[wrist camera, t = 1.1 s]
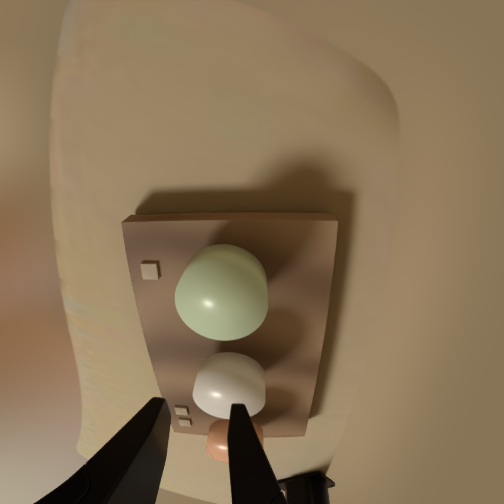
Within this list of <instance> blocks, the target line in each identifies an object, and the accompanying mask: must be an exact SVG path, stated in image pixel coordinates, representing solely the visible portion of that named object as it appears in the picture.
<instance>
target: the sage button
mask: <svg viewBox="0 0 504 504" xmlns="http://www.w3.org/2000/svg"><path fill="white" fill-rule="evenodd" d="M175 305H176V309H177V311H178V314H179V315H180V317H181V319H182V320H183V321H184V323H185V324H186V325H187V326H188V327H189V328H191V329H192V330H193V331H195V332H196V333H198V334H200V335H202V336H204V337H207V338H210V339H214V340H223V341H226V340H235V339H240V338H242V337H245V336H247V335H249V334H251V333H252V332H254V331H255V330H256V329H257V328H258V327H259V326H260V325H261V324H262V322H263V321H264V319H265V317H266V314H267V310H268V288H267V276H266V273H265V270H264V268H263V266H262V264H261V263H260V262H259V260H258V259H257V258H256V257H255V256H254V255H252V254H251V253H250V252H248V251H247V250H245V249H243V248H240V247H237V246H234V245H227V244H219V245H212V246H209V247H206V248H204V249H202V250H200V251H199V252H197V253H196V254H195V255H194V256H193V257H192V258H191V259H190V261H189V262H188V264H187V266H186V268H185V270H184V272H183V274H182V276H181V278H180V280H179V282H178V285H177V287H176V291H175Z"/></svg>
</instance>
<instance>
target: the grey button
mask: <svg viewBox="0 0 504 504" xmlns="http://www.w3.org/2000/svg"><path fill="white" fill-rule="evenodd" d="M193 399H194V401H195V403H196V404H197V406H198V407H199V408H200V409H202V410H203V411H204V412H206V413H208V414H210V415H212V416H215V417H218V418H223V419H229V417H230V409H231V404H233V403H243V404H245V406H246V408H247V410H248V413H249V415H250V416H253V415H255V414H256V413H258V412H259V411H260V410H261V409H262V408H263V407H264V404H265V372H264V370H263V368H262V366H261V365H260V364H259V363H258V362H257V361H255V360H254V359H252V358H250V357H248V356H246V355H243V354H239V353H233V352H223V353H217V354H214V355H211V356H209V357H207V358H206V359H204V360H203V361H202V362H201V364H200V365H199V368H198V372H197V376H196V380H195V385H194V389H193Z"/></svg>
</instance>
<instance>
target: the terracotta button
mask: <svg viewBox="0 0 504 504" xmlns="http://www.w3.org/2000/svg"><path fill="white" fill-rule="evenodd" d="M252 423H253V425H254V428H255V430H256V433H257V435H258V437H259V440H260V442H261V445H262V447H263V429H262V428H261V427H260V426H259V425H258V424H257V423H255V422H253V421H252ZM228 425H229V419H220V420H217V421H215V422H213V423H212V424H211V425H210V427H209V432H208V438H207V445H206V451H207V453H208V454H209V455H210V456H211V457H213V458H214V459H216V460H219V461H222V462H226V463H229V460H228V446H227V433H228Z"/></svg>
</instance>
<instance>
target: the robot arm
mask: <svg viewBox="0 0 504 504" xmlns="http://www.w3.org/2000/svg"><path fill="white" fill-rule="evenodd" d="M170 424H171V412H170V409H169V406H168V403H167V400H166V399H165V398H160V397H153V398H151V399H150V400H149V401H148V402H147V403H146V404H145V405H144V407H143V408H142V409H141V410H140V411H139V412H138V413H137V414H136V415H135V416H134V417H133V418H132V419H131V420H130V421H128V422H127V423H126V424H125V425H124V426H123V427H122V428H121V429H120V430H119V431H118V432H117V433H116V434H115V435H114V436H113V437H112V438H111V439H110V440H109V441H108V442H107V443H106V444H105V445H104V446H103V447H102V448H101V449H100V450H99V451H98V452H97V453H96V454H95V455H94V456H93V457H92V458H91V459H90V460H89V461H87V462H86V464H85V465H83V466H82V467H81V468H80V469H79V470H78V471H77V472H76V473H75V474H73V475H72V476H71V477H70V478H69V479H68V480H66V481H65V482H64V483H63V484H61V485H60V486H59V487H57V488H56V489H54V490H53V491H52V492H50V493H49V494H47V495H46V496H44V497H43V498H41V499H40V500H39V501H37V502H35V503H34V504H155V502H156V497H157V494H158V489H159V486H160V481H161V477H162V473H163V469H164V466H165V461H166V456H167V448H168V440H169V432H170ZM227 446H228V460H229V472H230V484H231V495H232V504H330V502H329V494H328V488H331V487H334V486H335V483H334V482H333V481H332V480H331V479H329V478H328V477H327V476H326V475H324V474H323V473H322V472H314V473H310V474H307V475H303V476H299V477H295V478H291V479H287V480H282V481H277V479H276V477H275V474H274V472H273V470H272V468H271V465H270V463H269V461H268V459H267V456H266V454H265V452H264V449H263V447H262V445H261V442H260V440H259V437H258V435H257V433H256V430H255V428H254V425H253V423H252V420H251V418H250V415H249V413H248V410H247V408H246V406H245V404H243V403H233V404H231V409H230V417H229V425H228V433H227ZM281 489H282V490H283V491H285V496H284V494H283V492H282V491H281Z"/></svg>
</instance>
